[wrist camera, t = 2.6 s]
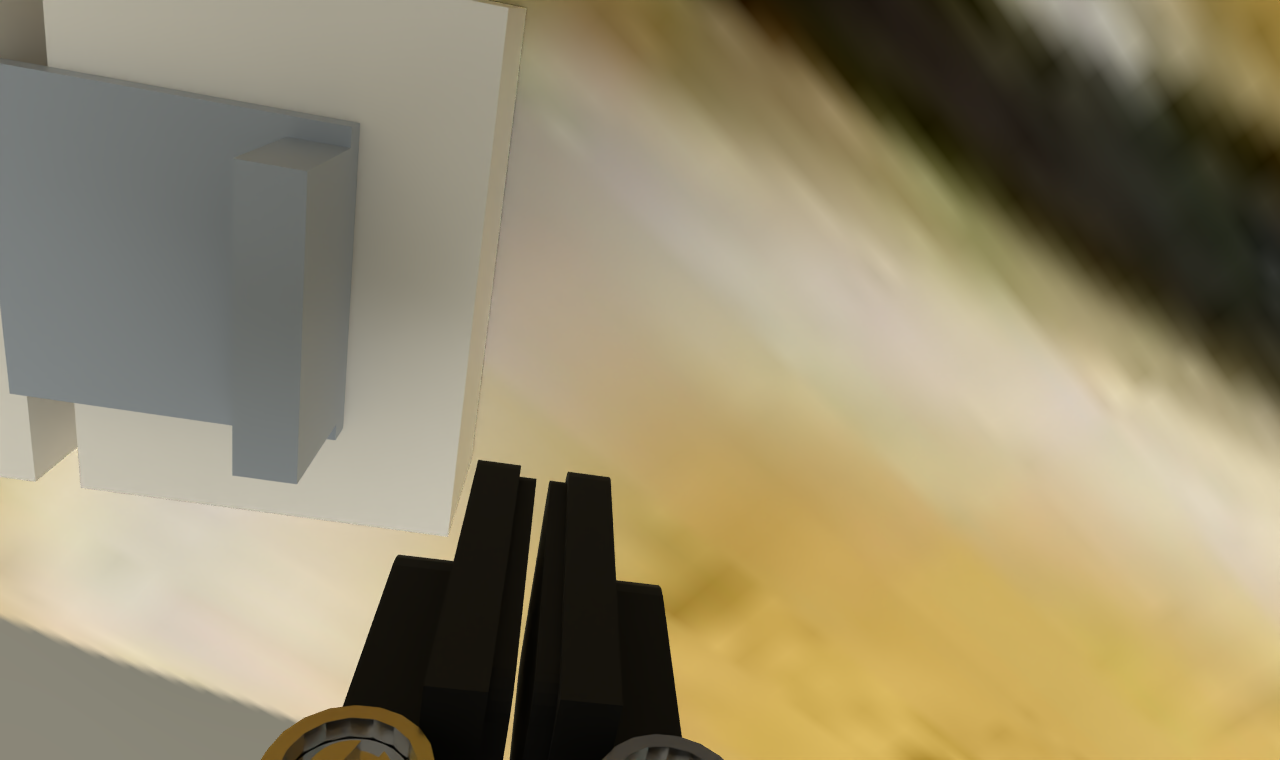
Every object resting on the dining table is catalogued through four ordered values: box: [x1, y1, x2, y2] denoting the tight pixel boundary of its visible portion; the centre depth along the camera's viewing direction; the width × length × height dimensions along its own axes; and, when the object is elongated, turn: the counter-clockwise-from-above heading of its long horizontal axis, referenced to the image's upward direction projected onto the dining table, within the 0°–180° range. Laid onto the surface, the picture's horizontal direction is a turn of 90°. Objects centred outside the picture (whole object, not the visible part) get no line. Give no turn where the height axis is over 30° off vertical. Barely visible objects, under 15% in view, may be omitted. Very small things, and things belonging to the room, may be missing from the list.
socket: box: [0, 0, 527, 537], centre depth 20 cm, size 18×12×4 cm, turn 80°
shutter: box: [0, 58, 360, 484], centre depth 16 cm, size 7×7×3 cm
